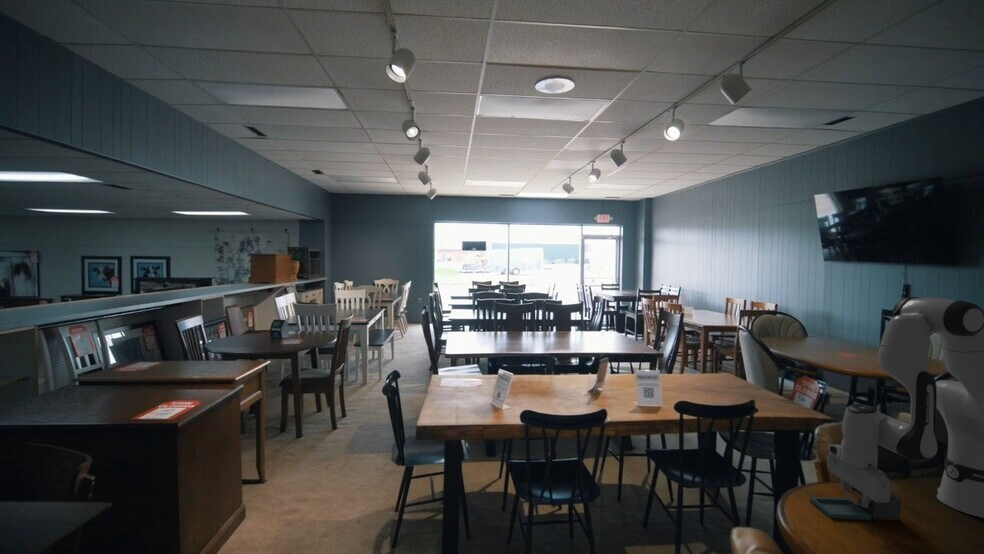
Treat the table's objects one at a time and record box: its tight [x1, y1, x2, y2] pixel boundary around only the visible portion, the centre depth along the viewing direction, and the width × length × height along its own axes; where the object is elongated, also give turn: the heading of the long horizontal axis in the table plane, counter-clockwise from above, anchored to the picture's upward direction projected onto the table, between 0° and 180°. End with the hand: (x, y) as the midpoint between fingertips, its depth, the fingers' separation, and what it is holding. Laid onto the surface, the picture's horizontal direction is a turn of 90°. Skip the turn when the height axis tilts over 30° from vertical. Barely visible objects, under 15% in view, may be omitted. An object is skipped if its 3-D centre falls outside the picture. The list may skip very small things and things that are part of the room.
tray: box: [809, 496, 872, 521], centre depth 138 cm, size 12×9×2 cm
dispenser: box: [850, 478, 902, 521], centre depth 138 cm, size 8×9×11 cm
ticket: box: [843, 489, 871, 506], centre depth 138 cm, size 9×5×2 cm, turn 89°
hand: (855, 500), depth 138 cm, fingers closed on ticket, 5 cm apart
